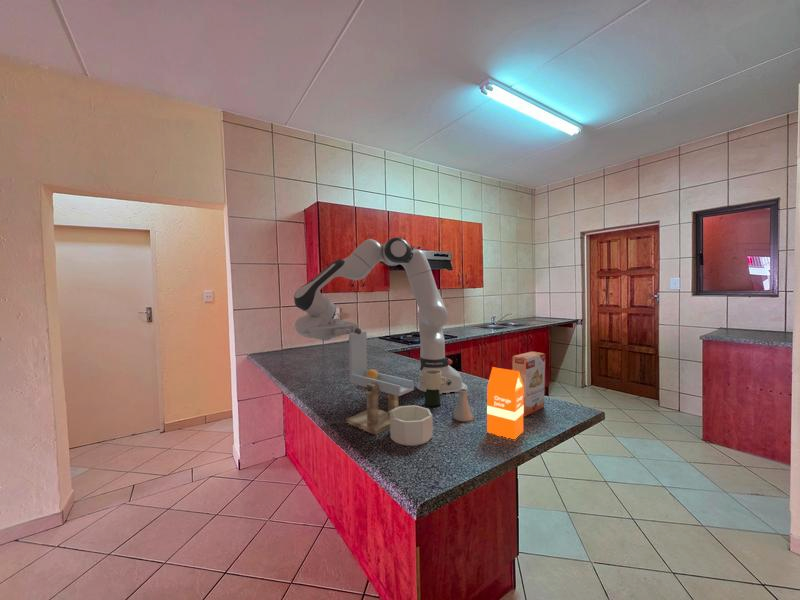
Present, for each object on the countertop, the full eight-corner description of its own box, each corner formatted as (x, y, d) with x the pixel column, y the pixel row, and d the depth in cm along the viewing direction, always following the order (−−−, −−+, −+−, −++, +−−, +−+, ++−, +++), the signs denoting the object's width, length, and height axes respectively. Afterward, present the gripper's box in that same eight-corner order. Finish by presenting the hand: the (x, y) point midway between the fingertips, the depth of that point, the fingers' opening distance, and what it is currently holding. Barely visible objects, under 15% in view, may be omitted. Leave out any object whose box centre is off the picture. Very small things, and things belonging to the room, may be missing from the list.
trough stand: (345, 423, 107) (345, 379, 106) (374, 411, 117) (373, 371, 116) (375, 435, 98) (375, 387, 97) (403, 421, 108) (402, 377, 108)
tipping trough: (348, 387, 110) (347, 328, 109) (363, 382, 115) (362, 326, 115) (399, 402, 95) (398, 334, 94) (413, 396, 101) (413, 331, 100)
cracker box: (526, 417, 110) (526, 358, 109) (510, 412, 115) (511, 355, 114) (545, 408, 119) (546, 352, 118) (530, 403, 124) (530, 350, 123)
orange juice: (496, 424, 105) (496, 364, 104) (523, 431, 100) (524, 368, 99) (486, 432, 99) (486, 369, 98) (514, 440, 94) (515, 374, 93)
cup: (427, 425, 104) (427, 404, 104) (435, 444, 92) (435, 420, 91) (389, 427, 103) (388, 406, 103) (391, 446, 91) (391, 422, 90)
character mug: (448, 402, 125) (448, 370, 125) (444, 409, 118) (444, 375, 118) (421, 399, 129) (421, 368, 128) (416, 405, 122) (416, 372, 122)
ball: (377, 379, 110) (377, 367, 110) (378, 382, 106) (378, 370, 106) (366, 379, 109) (366, 368, 109) (366, 383, 105) (366, 371, 105)
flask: (458, 423, 106) (458, 394, 106) (449, 415, 113) (449, 387, 113) (477, 421, 108) (477, 392, 107) (467, 413, 115) (467, 385, 114)
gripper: (300, 322, 115) (324, 325, 107) (344, 319, 131) (367, 321, 122) (300, 340, 116) (324, 344, 107) (344, 334, 131) (367, 337, 122)
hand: (347, 331), depth 115 cm, fingers closed
